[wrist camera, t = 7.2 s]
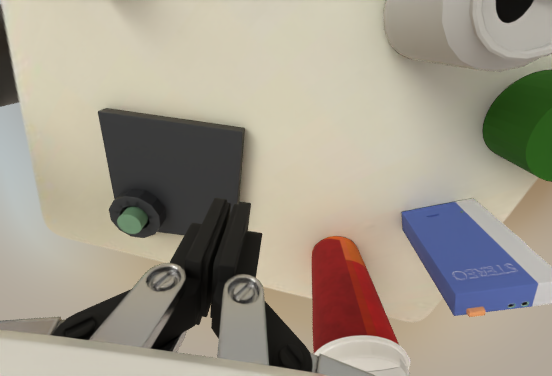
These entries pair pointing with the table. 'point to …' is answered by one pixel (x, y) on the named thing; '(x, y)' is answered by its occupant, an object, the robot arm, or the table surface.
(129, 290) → the robot arm
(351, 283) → the coffee cup
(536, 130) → the candle
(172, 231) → the dark grey flat block
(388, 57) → the table surface
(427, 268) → the walkman
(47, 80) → the table surface
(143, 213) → the button
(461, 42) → the can
